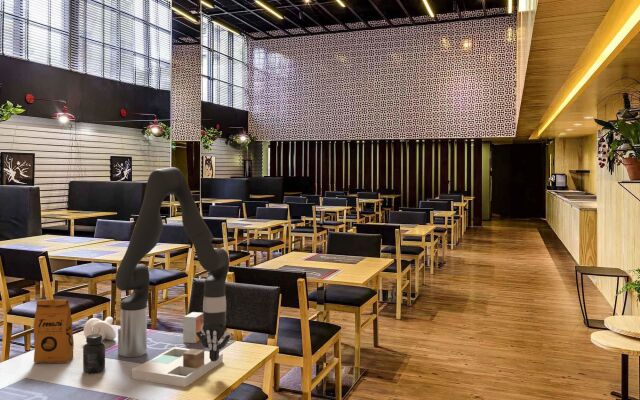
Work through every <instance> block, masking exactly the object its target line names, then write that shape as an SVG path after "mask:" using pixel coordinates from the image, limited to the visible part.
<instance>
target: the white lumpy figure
mask: <svg viewBox="0 0 640 400" xmlns="http://www.w3.org/2000/svg"><path fill="white" fill-rule="evenodd" d="M113 321H114V319H113V317H112V316H107V317H105V319H104V320H101V319H99V318H97V317H92V318H90V319H88V320H87V321H86V322H85V323H84V326H83V335H84V338H85V339H86V337H87V336H88V335H92V334H101V335H102V341H104V340H105V339H106V340H107V341H114V340H115V339H116V336H117V334H116V331H115V329H114V327H113V326H112V324H113Z"/></svg>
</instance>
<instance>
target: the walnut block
mask: <svg viewBox="0 0 640 400" xmlns="http://www.w3.org/2000/svg"><path fill="white" fill-rule="evenodd" d="M189 349H190V350H188V351H186V352H185V353H183V367H189V368H198V367H199V366H201V365H203V364H204V351H205V350H204V349H199V348H198V349H196V348H189Z"/></svg>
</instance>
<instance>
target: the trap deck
mask: <svg viewBox="0 0 640 400" xmlns="http://www.w3.org/2000/svg"><path fill="white" fill-rule="evenodd" d="M190 349H191V348H183V347H179V346H178V347H176V346H174V347H172V348H170V349H168V350H166V351H164V352H163V353H160V354H159V355H157V356H155V357H153V358H152V359H150V360H147V361H146V362H143V363H142V364H139V365H138V366H135V367H134V368H132V369H131V379H133V380H140V381H146V382H152V383H157V384H163V385H168V386H169V385H171V386H177V387H184V388H186V387H189V385H190V384H192V383H194V382H195V381H197V380H198V379H200V378H201V377H203V376H204V375H205V374H206V373H208V372H210V371H211V370H213V369H214V368H216V367H217V366H219V365H221V364H222V363H223V353H222V352H219V359H218V360H217V361H211V359H210V358H209V351H208V350H204V364H203V365H201V366H199V367H198V368H189V367H183V353H185V352H186V351H188V350H190Z"/></svg>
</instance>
